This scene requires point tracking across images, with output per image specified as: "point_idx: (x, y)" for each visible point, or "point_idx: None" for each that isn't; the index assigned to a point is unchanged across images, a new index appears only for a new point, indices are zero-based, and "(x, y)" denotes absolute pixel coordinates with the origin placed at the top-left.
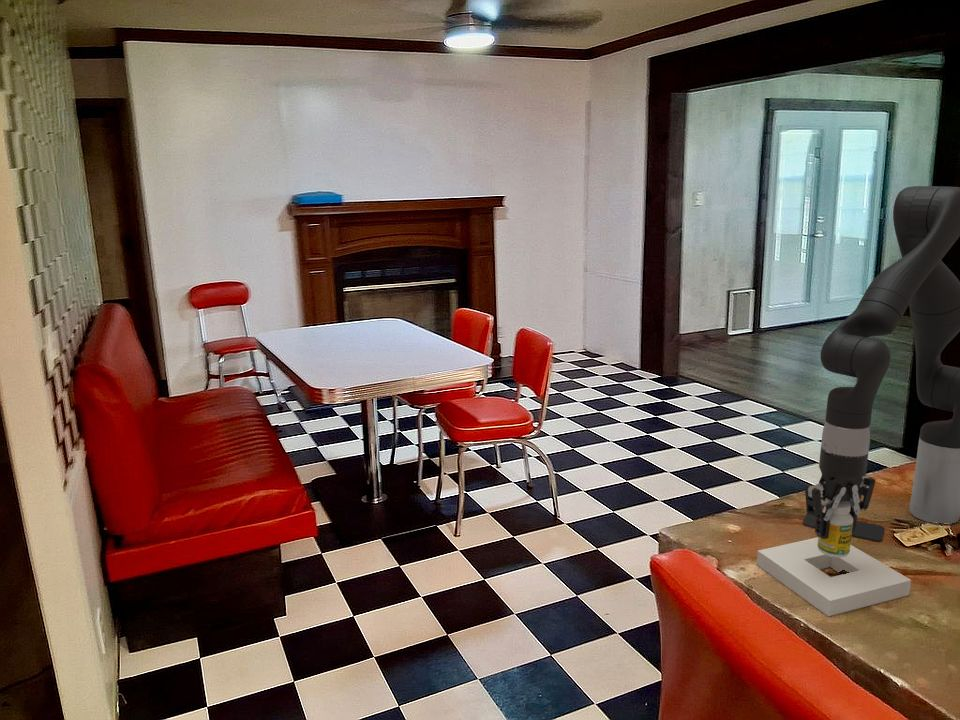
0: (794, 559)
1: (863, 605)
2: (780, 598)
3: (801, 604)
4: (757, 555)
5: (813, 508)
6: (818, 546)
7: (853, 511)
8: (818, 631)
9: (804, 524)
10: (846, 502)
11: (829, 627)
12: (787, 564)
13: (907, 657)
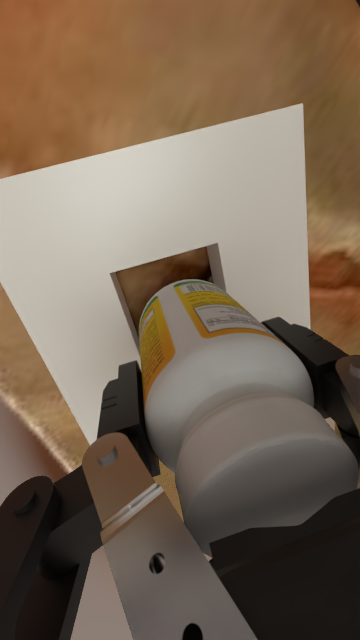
0: (77, 272)
1: None
2: (12, 364)
3: (56, 385)
4: None
5: (47, 533)
6: (139, 326)
7: (338, 432)
8: (57, 456)
9: None
10: (342, 491)
11: (83, 446)
12: (42, 299)
13: (169, 495)
